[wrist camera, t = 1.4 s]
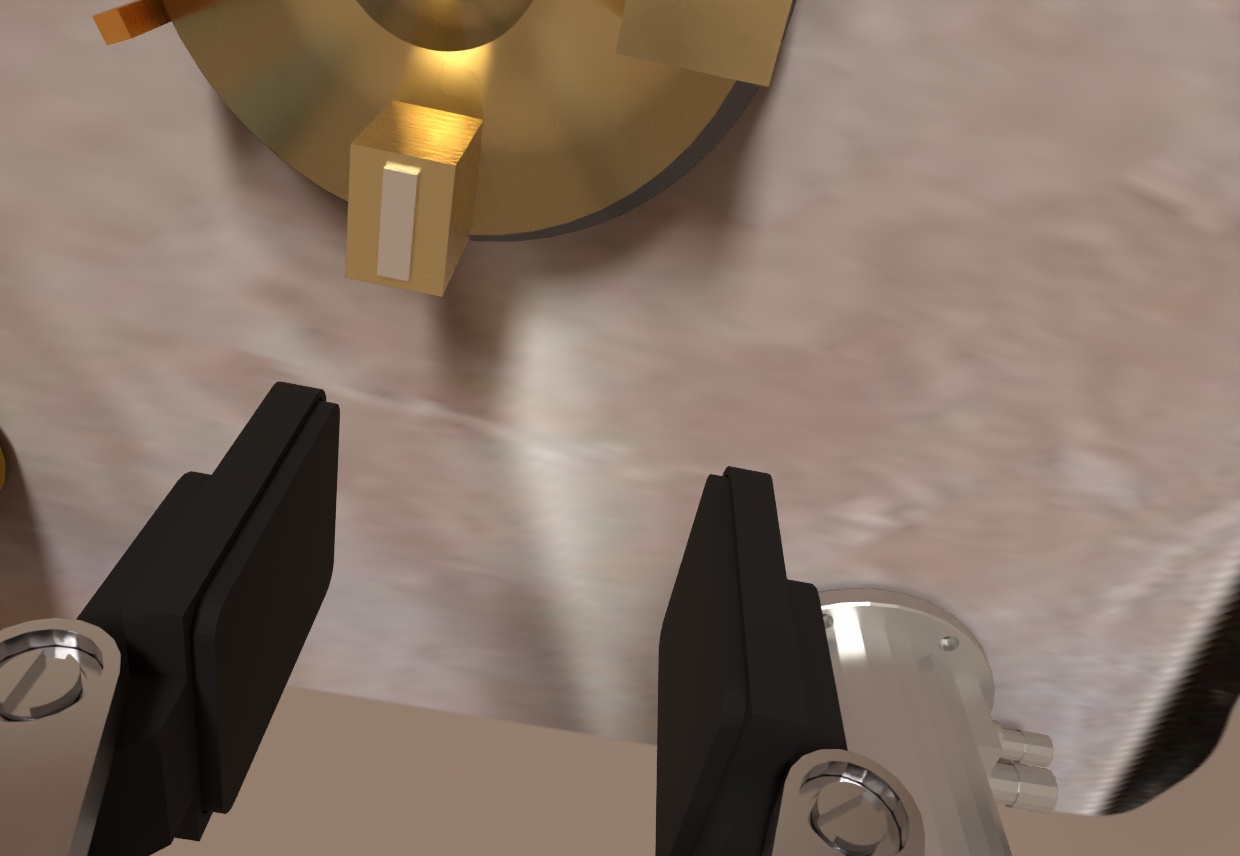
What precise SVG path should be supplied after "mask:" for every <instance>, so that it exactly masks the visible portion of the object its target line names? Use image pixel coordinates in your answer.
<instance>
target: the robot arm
mask: <svg viewBox="0 0 1240 856" xmlns="http://www.w3.org/2000/svg"><path fill="white" fill-rule="evenodd" d="M339 423H340V409H339V405H338V404H335V403H330V402H326V395H325V392H324V390H323V389H317V388H312V387H307V386H301V385H296V384H291V383H286V382H276V383H275V384H274V386H273V387H272V388H271V390H270V391H269V393H268V394H267V395H266V397H265V398H264V400H263V401H262V403H261V404H260V406H259V407H258V409H257V410H256V411H255V413H254V414H253V416H252V417H251V419H250V420H249V422H248V423H247V424H246V426H245V427H244V429H243V430H242V432H241V433H240V435H239V436H238V438H237V439H236V440H235V442H234V443H233V445H232V446H231V448H230V449H229V451H228V452H227V453H226V455H225V456H224V458H223V459H222V461H221V462H220V464H219V465H218V467H217V468H216V469H215V471H214V472H213V474H212V475H209V474H203V473H198V472H192V471H191V472H188V473H186V474H184V475H183V476H182V477H181V478H180V479H179V480H178V481H177V483H176V484H175V485H174V487H173V488H172V489H171V491H170V492H169V494H168V495H167V496H166V498H165V499H164V500H163V502H162V503H161V504H160V506H159V507H158V509H157V510H156V511H155V513H154V514H153V515H152V517H151V518H150V519H149V521H148V522H147V524H146V525H145V526H144V528H143V529H142V530H141V532H140V533H139V534H138V536H137V537H136V539H135V540H134V541H133V543H132V544H131V545H130V547H129V548H128V549H127V551H126V552H125V554H124V555H123V556H122V558H121V559H120V560H119V562H118V563H117V564H116V566H115V567H114V569H113V570H112V571H111V573H110V574H109V575H108V577H107V578H106V579H105V581H104V582H103V584H102V585H101V586H100V588H99V589H98V590H97V592H96V593H95V594H94V596H93V597H92V599H91V600H90V601H89V603H88V604H87V605H86V607H85V608H84V609H83V611H82V612H81V614H80V615H79V616H78V618H77V619H76V620H74V619H64V618H49V619H40V620H30V621H27V622H24V623H20V624H17V625H14V626H10V627H7V628H4V629H2V630H0V856H149V855H151V854H153V853H155V852H157V851H159V850H161V849H163V848H165V847H167V846H169V845H171V843H172V841H173V839H174V837H175V838H181V839H188V840H194V841H200V839H201V837H202V835H203V832H204V830H205V828H206V826H207V824H208V822H209V819H210V817H211V815H212V813H213V812H217V813H223V814H226V813H228V812H229V810H230V809H231V808H232V806H233V803H234V801H235V799H236V797H237V795H238V793H239V790H240V788H241V786H242V784H243V781H244V779H245V777H246V774H247V772H248V770H249V768H250V765H251V763H252V761H253V759H254V756H255V754H256V752H257V750H258V747H259V745H260V743H261V740H262V738H263V736H264V734H265V731H266V729H267V727H268V724H269V722H270V720H271V718H272V715H273V713H274V711H275V709H276V706H277V704H278V702H279V700H280V697H281V695H282V693H283V690H284V688H285V686H286V684H287V681H288V679H289V677H290V675H291V672H292V670H293V668H294V665H295V663H296V661H297V659H298V656H299V654H300V652H301V650H302V647H303V645H304V643H305V640H306V638H307V636H308V634H309V631H310V629H311V627H312V625H313V622H314V620H315V618H316V616H317V613H318V611H319V609H320V606H321V604H322V602H323V600H324V597H325V595H326V593H327V590H328V587H329V584H330V581H331V576H332V571H333V564H334V543H335V519H336V495H337V471H338V447H339ZM994 691H995V687H994V681H993V676H992V671H991V668H990V665H989V663H988V660H987V658H986V655H985V652H984V650H983V647H982V646H981V644H980V643H979V641H978V640H977V639H976V637H975V636H974V634H973V633H972V631H971V630H970V629H969V628H968V627H967V626H965V625H964V624H963V623H962V622H961V621H960V620H959V619H958V618H956V617H955V616H954V615H952V614H951V613H949V612H947V611H945V610H944V609H942V608H940V607H938V606H937V605H935V604H933V603H930V602H928V601H925V600H922V599H919V598H916V597H913V596H911V595H907V594H902V593H896V592H891V591H885V590H876V589H844V590H835V591H826V592H820V593H818V591H817V588H816V587H815V586H814V585H813V584H810V583H804V582H799V581H793V580H788V579H787V577H786V570H785V563H784V556H783V549H782V543H781V536H780V529H779V522H778V516H777V509H776V502H775V495H774V489H773V482H772V478H771V475H770V474H768V473H762V472H757V471H752V470H746V469H741V468H736V467H730V466H728V467H727V468H726V469H725V471H724V473H723V476H718V475H713V474H710V475H709V476H708V478H707V481H706V484H705V487H704V490H703V493H702V497H701V500H700V503H699V507H698V510H697V513H696V516H695V520H694V523H693V526H692V529H691V533H690V536H689V539H688V542H687V546H686V549H685V552H684V556H683V559H682V562H681V565H680V569H679V572H678V575H677V578H676V582H675V585H674V588H673V591H672V595H671V598H670V601H669V605H668V608H667V611H666V614H665V618H664V621H663V625H662V630H661V635H660V643H659V673H658V735H657V796H656V797H657V798H656V802H657V803H656V856H1012V853H1011V850H1010V847H1009V844H1008V841H1007V837H1006V834H1005V831H1004V828H1003V825H1002V822H1001V819H1000V816H999V813H998V810H997V806H996V803H999V804H1005V806H1006V807H1010V808H1016V809H1022V810H1028V811H1034V812H1040V813H1050V812H1051V811H1052V810H1053V809H1054V807H1055V804H1056V801H1057V795H1058V787H1057V782H1056V778H1055V776H1054V775H1053V773H1052V771H1051V770H1048V769H1046V768H1040V767H1034V766H1028V765H1023V764H1017V763H1011V762H1009V763H1007V764H1003V763H997V761H998V760H999V758H1004V759H1010V760H1014V761H1015V762H1018V763H1024V764H1030V765H1036V766H1041V767H1047V766H1048V765H1050V763H1051V761H1052V758H1053V749H1054V748H1053V744H1052V740H1051V739H1050V737H1049V736H1048V735H1044V734H1038V733H1033V732H1027V731H1021V730H1016V731H1012V730H1007V729H1002V728H1001V726H1000V724H999V723H998V722H996V721H995V720H992V717H991V715H990V713H991V710H992V708H993V701H994Z"/></svg>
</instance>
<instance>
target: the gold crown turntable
mask: <svg viewBox="0 0 1240 856" xmlns="http://www.w3.org/2000/svg"><path fill="white" fill-rule="evenodd" d="M162 1H163V4H164V6H165V8H166V10H167V12H168V14H169V16H170V18H171V20H172V22H173V24H174V26H175V28H176V30H177V32H178V34H179V36H180V38H181V40H182V41H183V43H184V45H185V46H186V48H187V49H188V51H189V53H190V54H191V56H192V57H193V59H194V61H195V62H196V64H197V66H198V67H199V69H200V70H201V72H202V74H203V75H204V76H205V78H206V79H207V80H208V82H209V83H210V84H211V85H212V87H213V88H214V89H215V91H216V92H217V93H218V95H219V96H220V97H221V98H222V100H223V101H224V102H225V104H226V105H227V106H228V108H229V109H230V110H231V111H232V112H233V113H234V114H235V115H236V116H237V117H238V118H239V119H240V120H241V121H242V123H243V124H244V125H245V126H246V127H247V128H248V129H249V130H250V131H251V132H252V133H253V134H254V135H255V136H256V137H257V138H258V139H259V140H260V141H261V142H262V143H263V144H265V145H266V146H267V147H268V148H269V149H270V150H272V151H273V152H274V153H275V154H276V155H277V156H279V157H280V158H281V159H282V160H283V161H285V162H286V163H287V164H288V165H289V166H291V167H292V168H293V169H295V170H296V171H298V172H299V173H301V174H302V175H304V176H305V177H307V178H308V179H310V180H311V181H313V182H314V183H315V184H317V185H318V186H320V187H321V188H323V189H325V190H327V191H328V192H330V193H332V194H334V195H336V196H338V197H340V198H342V199H344V200H345V201H347V202H348V221H347V245H346V269H345V278H349V279H354V280H359V281H364V282H369V283H375V284H380V285H385V286H390V287H395V288H400V289H405V290H410V291H415V292H420V293H425V294H430V295H435V296H441V297H442V296H443V294H444V292H445V290H446V287H447V285H448V283H449V281H450V279H451V277H452V275H453V273H454V270H455V268H456V266H457V264H458V262H459V260H460V258H461V256H462V253H463V251H464V249H465V247H466V245H467V243H468V241H469V239H470V235H504V234H513V233H522V232H531V231H537V230H541V229H545V228H549V227H553V226H557V225H561V224H565V223H569V222H572V221H574V220H577V219H579V218H582V217H584V216H587V215H590V214H592V213H595V212H597V211H600V210H602V209H604V208H606V207H608V206H610V205H611V204H613V203H615V202H617V201H619V200H620V199H622V198H624V197H626V196H628V195H630V194H631V193H633V192H635V191H636V190H637V189H639V188H640V187H641V186H643V185H644V184H646V183H647V182H648V181H650V180H651V179H652V178H654V177H655V176H657V175H658V174H659V173H661V172H662V171H663V170H664V169H665V168H666V167H668V166H669V165H670V164H671V163H672V162H673V161H674V160H675V159H676V158H677V157H678V156H679V155H680V154H681V153H682V152H683V151H684V150H685V149H686V148H687V147H689V146H690V145H691V143H692V142H693V141H694V140H695V139H696V137H697V136H698V135H699V134H700V132H701V131H702V130H703V129H704V128H705V126H706V125H707V124H708V123H709V121H710V120H711V119H712V118H713V116H714V115H715V114H716V112H717V111H718V109H719V108H720V106H721V104H722V103H723V101H724V100H725V98H726V96H727V95H728V93H729V92H730V90H731V88H732V87H733V85H734V84H735V82H736V80H739V81H743V82H748V83H752V84H757V85H762V86H766V87H769V84H770V80H771V77H772V73H773V70H774V66H775V62H776V59H777V55H778V51H779V48H780V44H781V40H782V37H783V33H784V29H785V26H786V22H787V18H788V15H789V11H790V7H791V4H792V0H162Z"/></svg>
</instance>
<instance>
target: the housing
mask: <svg viewBox="0 0 1240 856" xmlns="http://www.w3.org/2000/svg"><path fill="white" fill-rule="evenodd" d="M795 3H796V0H792V4H791V7H790V11H789V15H788V18H787V22H786V26H785V29H784V33H783V37H782V40H783V38H784V35H785V32H786V29H787V27H788V24H789V21H790V18H791V15H792V12H793V9H794V6H795ZM92 17H93V19H94V21H95V23H96V25H97V26H98V28H99V30H100V32H101V34H102V36H103V38H104V40H105V42H106V44H107V45H109V44H113V43H116V42H120V41H124V40H127V39H131V38H133V37H136V36H138V35H140V34H143V33H145V32H147V31H150V30H152V29H154V28H157V27H159V26H161V25H164V24H166V23H168V22H171V21H172V20H171V18H170V16H169V14H168V12H167V10H166V8H165V6H164V4H163V1H162V0H135V1H133V2H130V3H127V4H124V5H122V6H119V7H116V8H113V9H110V10H108V11H105V12H102V13H99V14H97V15H94V16H92ZM782 40H781V42H782ZM759 86H760V85H757V84H752V83H748V82H743V81H739V80H736V82H735V84H734V85H733V87H732V88H731V90H730V92H729V93H728V95H727V96H726V98H725V100H724V101H723V103H722V104H721V106H720V108H719V109H718V111H717V112H716V114H715V115H714V116H713V118H712V119H711V120H710V121H709V123H708V124H707V125H706V126H705V128H704V129H703V130H702V131H701V132H700V134H699V135H698V136H697V137H696V139H695V140H694V141H693V142H692V143H691V145H690V146H689V147H687V148H686V149H685V150H684V151H683V152H682V153H681V154H680V155H679V156H678V157H677V158H676V159H675V160H674V161H673V162H672V163H671V164H670V165H669V166H668V167H666V168H665V169H664V170H663V171H662V172H661V173H659V174H658V175H657V176H655V177H654V178H652V179H651V180H650V181H648V182H647V183H646V184H644V185H643V186H641V187H640V188H639V189H637V190H636V191H635V192H633V193H631V194H630V195H628V196H626V197H624V198H622V199H620V200H619V201H617V202H615V203H613V204H611V205H610V206H608V207H606V208H604V209H602V210H600V211H597V212H595V213H592V214H590V215H587V216H584V217H582V218H579V219H577V220H574V221H572V222H569V223H565V224H561V225H557V226H553V227H549V228H545V229H541V230H537V231H531V232H522V233H513V234H504V235H470V239H469V240H473V241H521V240H530V239H539V238H548V237H553V236H557V235H561V234H565V233H569V232H573V231H578V230H582V229H586V228H588V227H591V226H593V225H596V224H599V223H601V222H604V221H606V220H609V219H612V218H614V217H617V216H619V215H622V214H623V213H625V212H627V211H629V210H631V209H633V208H634V207H636V206H638V205H640V204H642V203H644V202H646V201H647V200H649V199H651V198H653V197H654V196H656V195H657V194H659V193H660V192H661V191H663V190H664V189H666V188H667V187H668V186H670V185H671V184H673V183H674V182H675V181H677V180H678V179H679V178H681V177H682V176H684V175H685V174H686V173H687V172H688V171H689V170H690V169H691V168H692V167H694V166H695V165H696V164H697V163H698V162H699V161H700V160H701V159H702V158H703V157H704V156H705V155H706V154H707V153H708V152H710V151H711V150H712V149H713V148H714V147H715V146H716V144H717V143H718V142H719V141H720V140H721V138H722V137H723V136H724V135H725V134H726V132H727V131H728V130H729V129H730V128H731V126H732V125H733V124H734V123H735V122H736V120H737V119H738V118H739V117H740V115H741V114H742V112H743V111H744V109H745V108H746V106H747V105H748V103H749V102H750V100H751V98H752V97H753V95H754V94H755V92H756V91H757V89H758V87H759ZM326 191H327V190H326ZM327 192H328V191H327ZM329 193H330V192H329ZM331 194H332V193H331ZM333 195H334V194H333ZM334 196H336V195H334ZM336 197H338V196H336ZM338 198H340V197H338ZM340 199H342V198H340ZM342 200H344V199H342ZM344 201H345V200H344ZM346 202H347V201H346Z"/></svg>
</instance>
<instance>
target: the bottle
mask: <svg viewBox="0 0 1240 856" xmlns="http://www.w3.org/2000/svg"><path fill="white" fill-rule="evenodd" d="M5 470H6V464H5V459H4V456H3V452H2V449H1V446H0V490H1V489H2V487H3V485H4V482H5Z"/></svg>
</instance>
